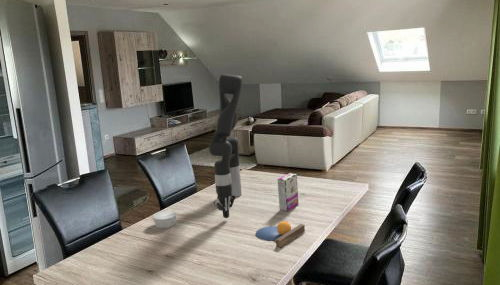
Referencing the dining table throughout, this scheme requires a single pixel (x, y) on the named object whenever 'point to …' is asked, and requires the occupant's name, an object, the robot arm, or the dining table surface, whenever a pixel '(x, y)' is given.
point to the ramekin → (165, 219)
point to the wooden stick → (290, 235)
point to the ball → (283, 227)
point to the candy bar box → (288, 192)
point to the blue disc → (268, 233)
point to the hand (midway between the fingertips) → (226, 217)
